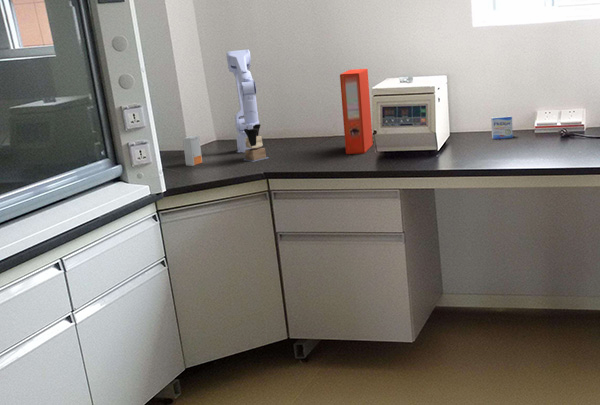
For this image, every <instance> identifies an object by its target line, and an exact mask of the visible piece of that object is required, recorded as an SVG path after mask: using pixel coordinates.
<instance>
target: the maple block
mask: <svg viewBox="0 0 600 405" xmlns="http://www.w3.org/2000/svg"><path fill="white" fill-rule="evenodd" d="M245 143H246V147H247V148H256V147H259V148H261V147H263V137H262V135H258V136H256V146H251V145H250V143H249V139H248V137H246V138H245Z"/></svg>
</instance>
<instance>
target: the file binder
mask: <svg viewBox="0 0 600 405" xmlns="http://www.w3.org/2000/svg"><path fill="white" fill-rule="evenodd" d="M368 72H369V70H368V68H359V69H358V68H356V69H354V68H353V69H348V70H346V71H344V72H341V73H339V82H340V94H341V106H342V120H343V131H344V132H343V133H344V143H345V144H344V147H345V154H346V155H354V154H355V155H356V154H366V152H368V151H369V149H370V148H371V147H373V145H374V144H373V143H374V142H373V127H372V126H373V125H372V117H371V116H372V113H371V98H370V85H369V84H370V83H369V73H368Z"/></svg>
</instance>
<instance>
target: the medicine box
mask: <svg viewBox="0 0 600 405" xmlns="http://www.w3.org/2000/svg"><path fill="white" fill-rule="evenodd" d="M490 119H491V121H490V122H491V138H492V140H504V139H505V140H506V139H513V136H514V134H513V116H512V115H502V116H491V117H490Z"/></svg>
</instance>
